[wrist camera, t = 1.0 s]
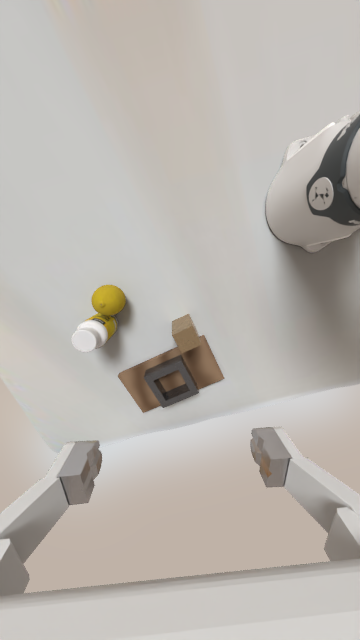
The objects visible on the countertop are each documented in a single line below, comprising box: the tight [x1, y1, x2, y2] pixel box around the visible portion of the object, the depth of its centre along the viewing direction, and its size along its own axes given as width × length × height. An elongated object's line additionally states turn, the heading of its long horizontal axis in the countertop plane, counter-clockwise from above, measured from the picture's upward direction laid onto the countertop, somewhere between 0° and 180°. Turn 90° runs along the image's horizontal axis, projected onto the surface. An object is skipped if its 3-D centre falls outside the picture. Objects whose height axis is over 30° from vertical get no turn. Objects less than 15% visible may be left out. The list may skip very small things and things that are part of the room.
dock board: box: [118, 335, 224, 413], centre depth 42 cm, size 22×12×1 cm, turn 115°
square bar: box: [172, 314, 202, 353], centre depth 35 cm, size 4×4×8 cm
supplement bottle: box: [72, 313, 118, 352], centre depth 33 cm, size 5×5×10 cm
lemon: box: [92, 285, 126, 316], centre depth 32 cm, size 6×6×8 cm
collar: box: [144, 355, 199, 408], centre depth 40 cm, size 9×9×3 cm
